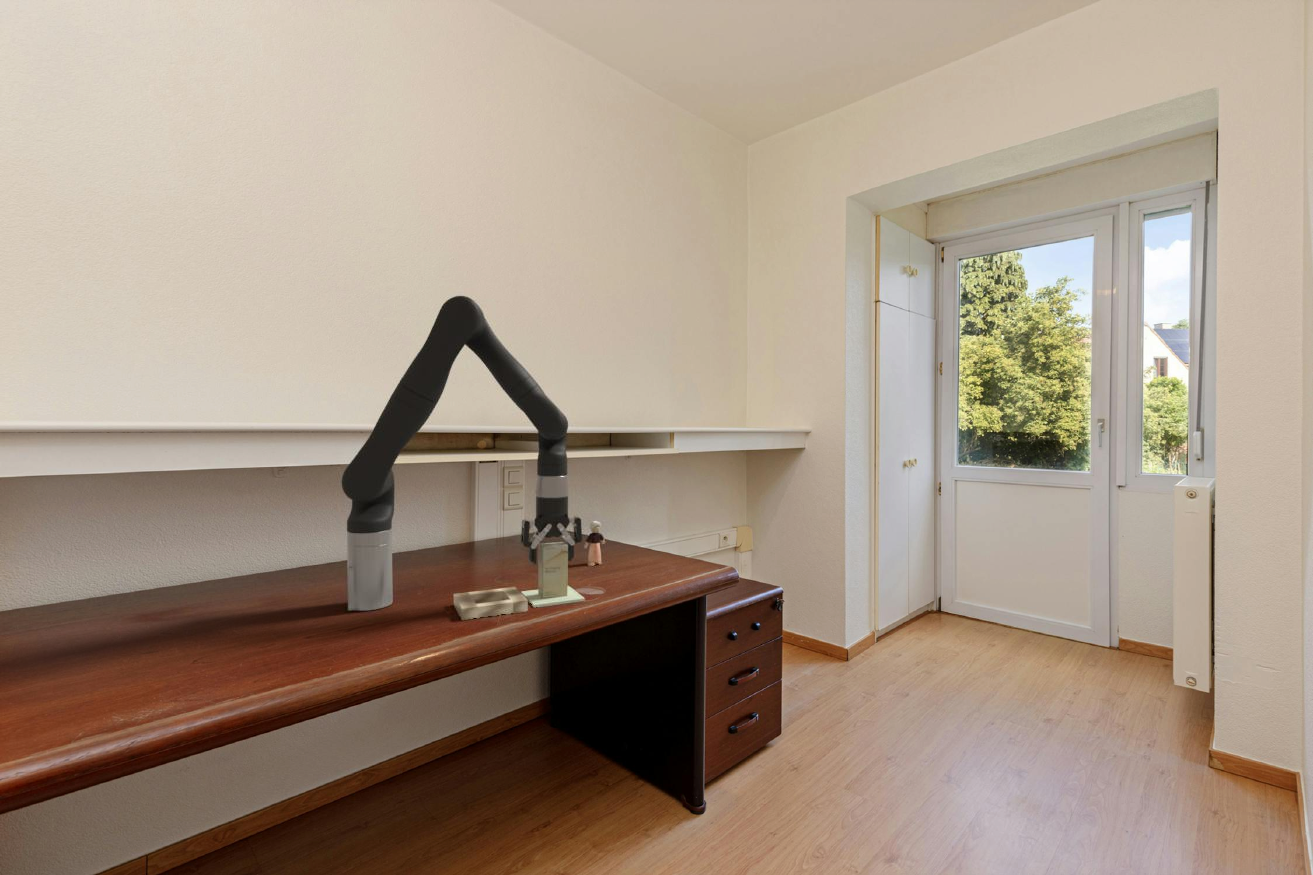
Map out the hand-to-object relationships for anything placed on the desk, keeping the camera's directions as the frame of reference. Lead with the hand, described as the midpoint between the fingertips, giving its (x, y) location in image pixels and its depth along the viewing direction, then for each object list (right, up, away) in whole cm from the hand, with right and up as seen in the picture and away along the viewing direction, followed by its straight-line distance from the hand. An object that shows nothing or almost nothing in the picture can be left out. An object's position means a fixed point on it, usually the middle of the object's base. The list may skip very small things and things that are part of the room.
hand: (551, 562), depth 148 cm
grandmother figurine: (+7, -8, +34) cm, 35 cm away
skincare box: (0, -8, 0) cm, 8 cm away
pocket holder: (-12, -9, -8) cm, 17 cm away
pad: (0, -8, 0) cm, 8 cm away
